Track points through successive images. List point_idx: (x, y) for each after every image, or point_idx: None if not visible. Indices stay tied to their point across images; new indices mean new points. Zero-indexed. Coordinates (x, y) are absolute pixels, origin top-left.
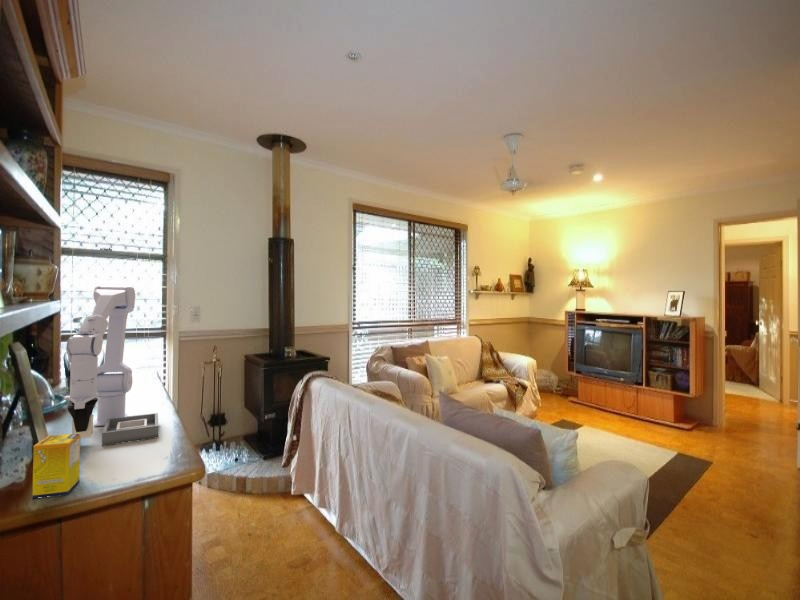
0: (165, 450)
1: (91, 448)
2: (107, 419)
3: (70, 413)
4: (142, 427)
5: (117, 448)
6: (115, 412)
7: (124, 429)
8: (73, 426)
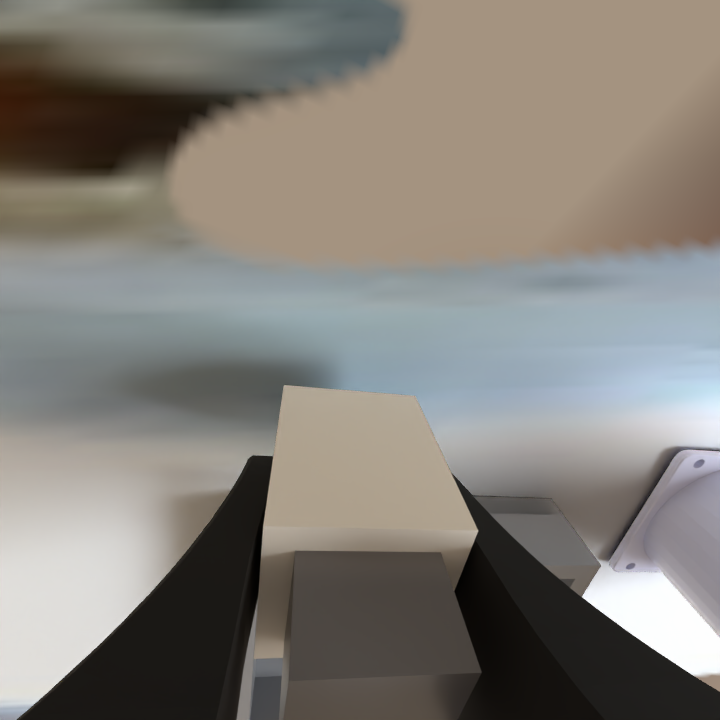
0: (15, 688)
1: (233, 444)
2: (582, 568)
3: (30, 710)
4: (238, 706)
5: (156, 547)
6: (700, 596)
7: (249, 649)
8: (272, 474)
